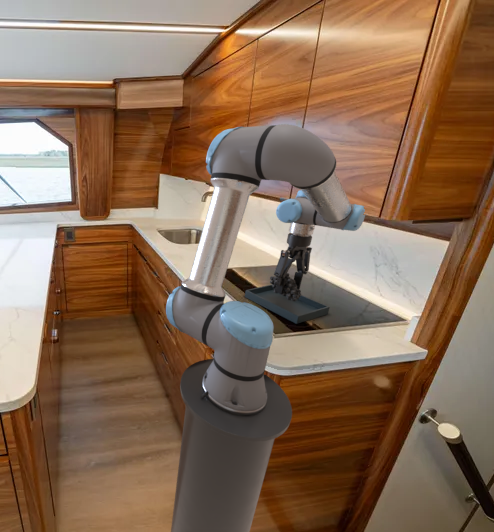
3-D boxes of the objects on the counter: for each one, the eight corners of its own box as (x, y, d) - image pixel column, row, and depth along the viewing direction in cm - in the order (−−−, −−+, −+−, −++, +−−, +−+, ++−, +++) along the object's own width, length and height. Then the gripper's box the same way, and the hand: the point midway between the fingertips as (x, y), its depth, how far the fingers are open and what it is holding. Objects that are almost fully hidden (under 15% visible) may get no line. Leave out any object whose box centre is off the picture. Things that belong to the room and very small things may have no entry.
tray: (296, 324, 104) (298, 316, 103) (244, 296, 124) (245, 290, 123) (327, 314, 111) (329, 306, 110) (273, 289, 131) (275, 283, 129)
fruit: (307, 282, 105) (285, 266, 119) (283, 288, 106) (264, 272, 120) (309, 302, 108) (288, 285, 122) (286, 308, 109) (267, 290, 123)
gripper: (289, 239, 100) (276, 299, 108) (330, 233, 108) (314, 289, 116) (270, 234, 106) (259, 291, 114) (309, 229, 114) (296, 282, 122)
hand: (287, 290), depth 115 cm, fingers closed on fruit, 9 cm apart
